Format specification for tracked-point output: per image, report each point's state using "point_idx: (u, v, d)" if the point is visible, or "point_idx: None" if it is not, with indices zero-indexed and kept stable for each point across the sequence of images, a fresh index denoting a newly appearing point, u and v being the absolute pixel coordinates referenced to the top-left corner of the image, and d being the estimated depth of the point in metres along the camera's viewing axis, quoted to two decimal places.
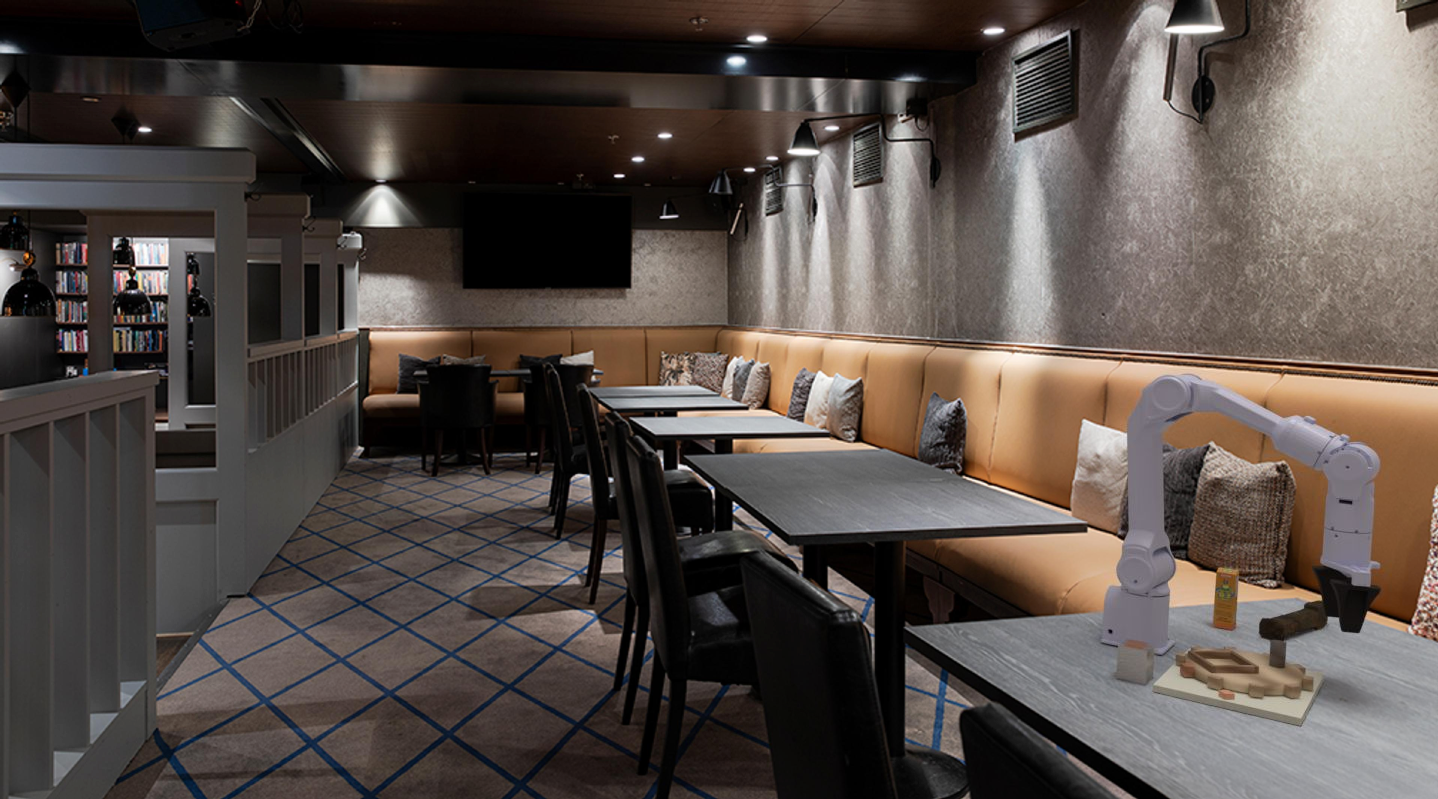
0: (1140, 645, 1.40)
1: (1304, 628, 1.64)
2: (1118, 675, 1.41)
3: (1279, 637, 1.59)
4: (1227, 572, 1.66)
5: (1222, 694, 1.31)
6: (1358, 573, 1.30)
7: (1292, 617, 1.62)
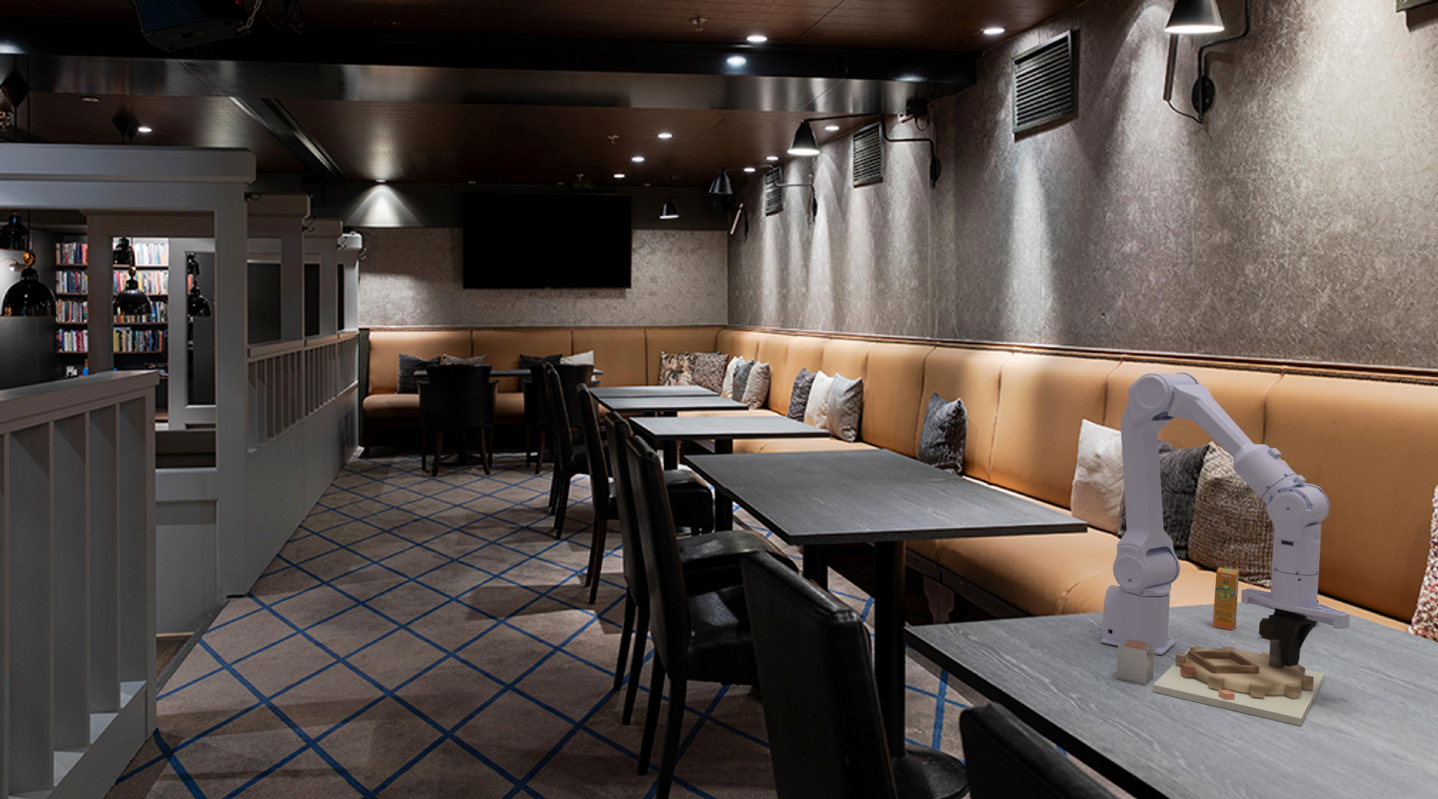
0: (1140, 645, 1.40)
1: None
2: (1118, 675, 1.41)
3: None
4: (1227, 572, 1.66)
5: (1222, 694, 1.31)
6: (1343, 616, 1.31)
7: None
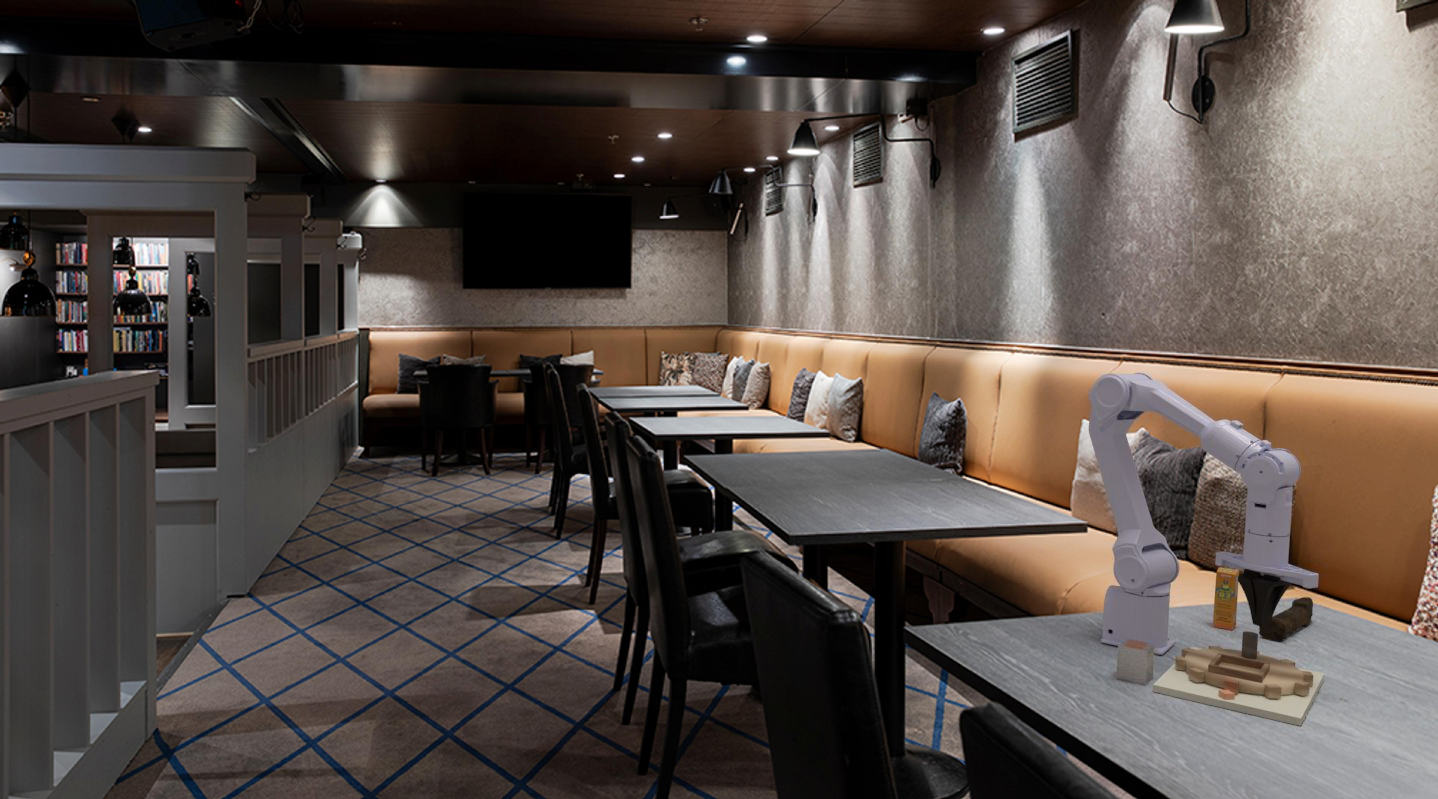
0: (1140, 645, 1.40)
1: (1298, 627, 1.65)
2: (1118, 675, 1.41)
3: (1281, 637, 1.59)
4: (1227, 572, 1.66)
5: (1222, 694, 1.31)
6: (1312, 576, 1.35)
7: (1289, 616, 1.63)
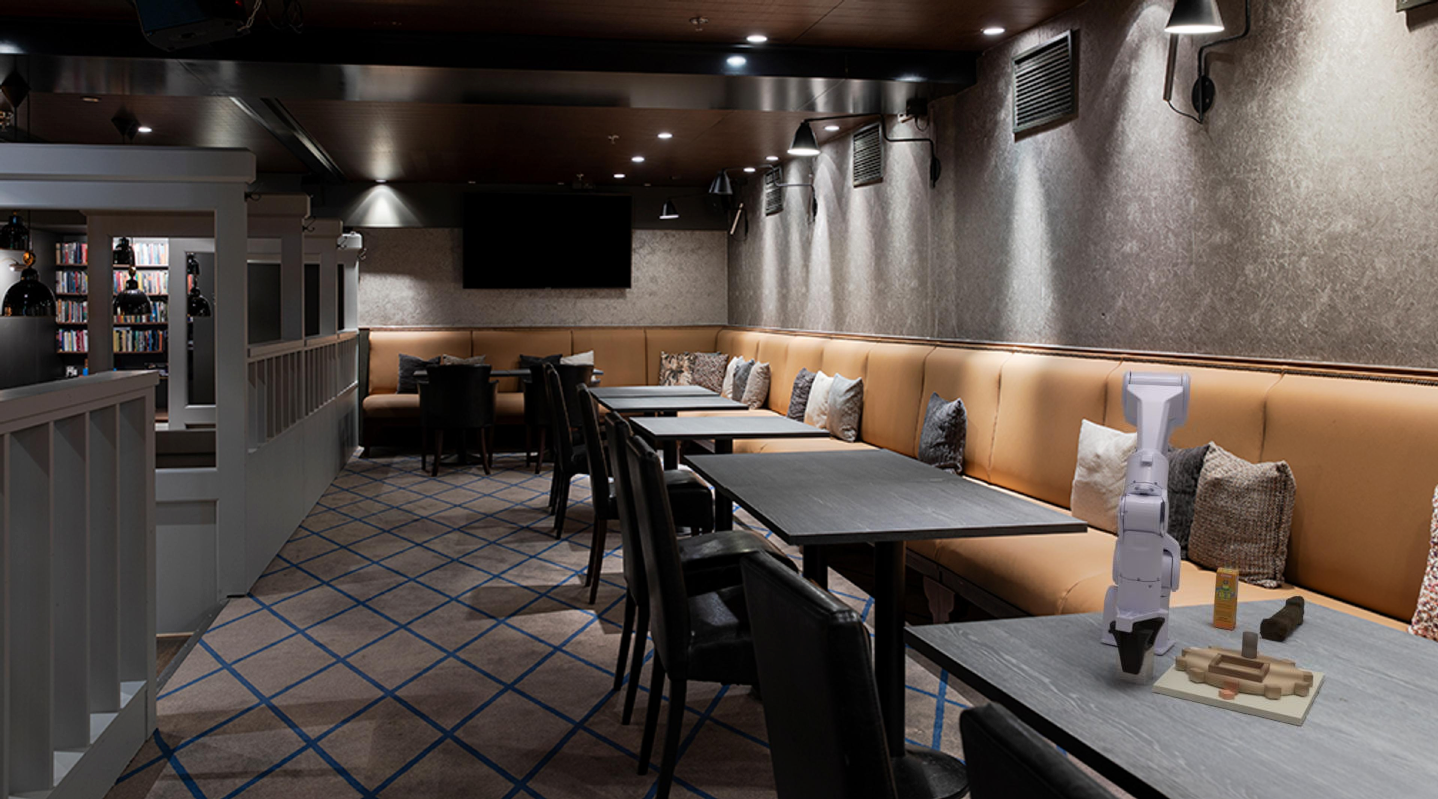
0: None
1: (1294, 626, 1.65)
2: (1118, 675, 1.41)
3: (1282, 637, 1.59)
4: (1227, 572, 1.66)
5: (1222, 694, 1.31)
6: (1119, 618, 1.35)
7: (1287, 615, 1.63)
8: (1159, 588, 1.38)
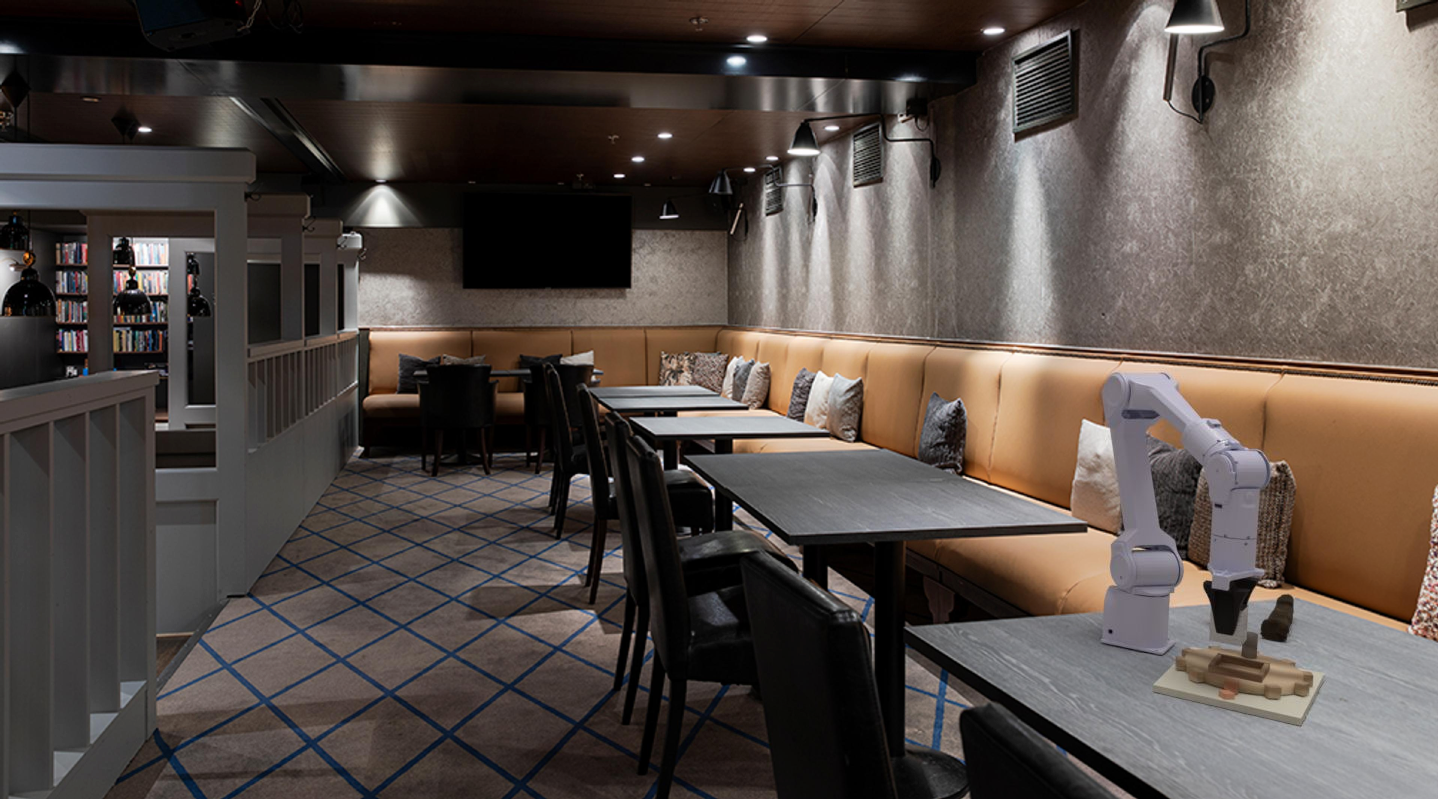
0: None
1: (1289, 625, 1.66)
2: (1211, 636, 1.37)
3: (1284, 637, 1.59)
4: None
5: (1222, 694, 1.31)
6: (1216, 576, 1.31)
7: (1284, 615, 1.64)
8: (1255, 546, 1.35)
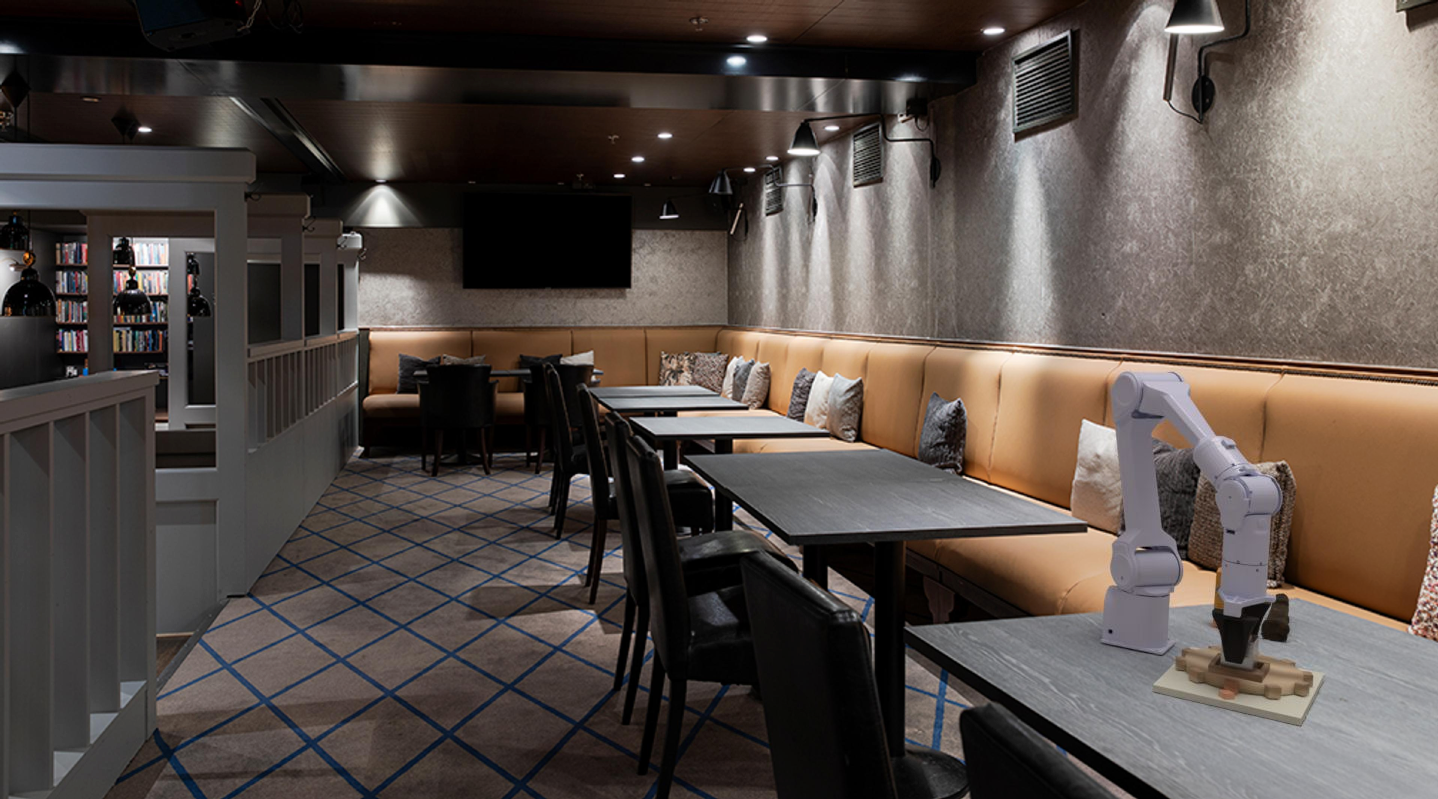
0: None
1: None
2: None
3: (1284, 637, 1.59)
4: None
5: (1222, 694, 1.31)
6: (1228, 603, 1.31)
7: (1283, 615, 1.64)
8: (1266, 572, 1.34)
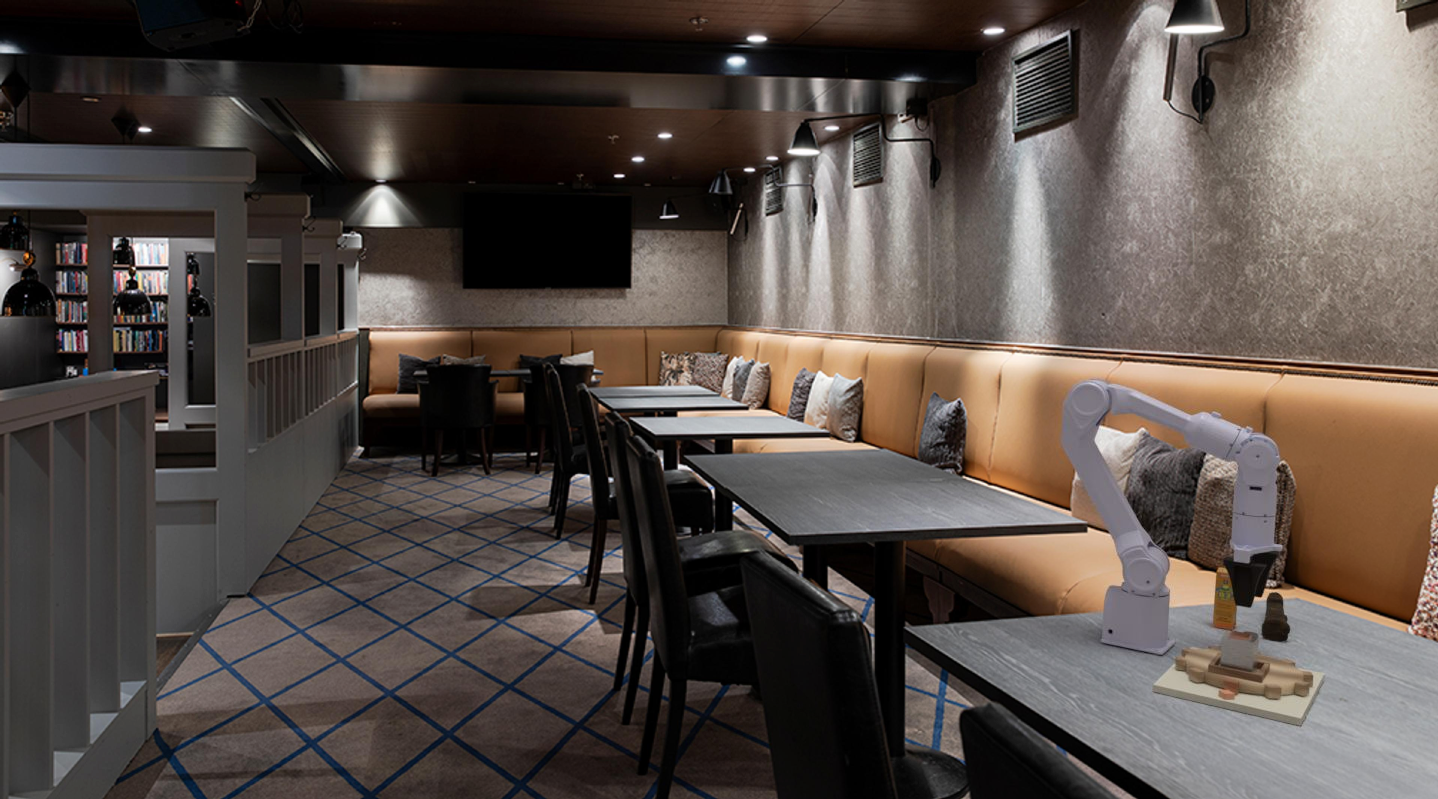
0: (1245, 636, 1.36)
1: None
2: None
3: (1285, 637, 1.59)
4: (1227, 572, 1.66)
5: (1222, 694, 1.31)
6: (1237, 550, 1.43)
7: (1281, 614, 1.64)
8: (1273, 523, 1.46)
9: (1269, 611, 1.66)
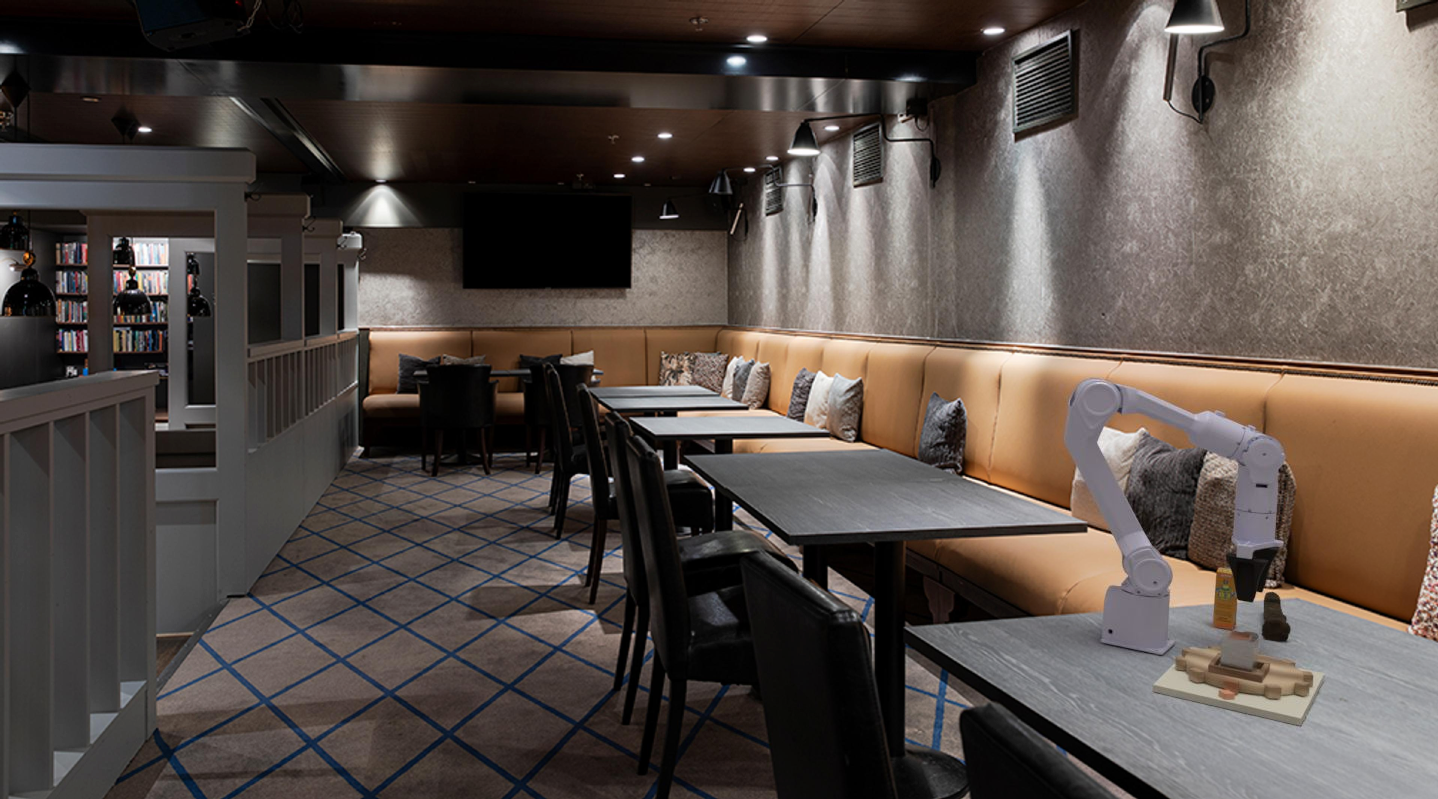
0: (1245, 636, 1.36)
1: None
2: None
3: (1285, 637, 1.59)
4: (1227, 572, 1.66)
5: (1222, 694, 1.31)
6: (1240, 546, 1.46)
7: (1281, 614, 1.64)
8: (1275, 520, 1.49)
9: (1268, 611, 1.66)
